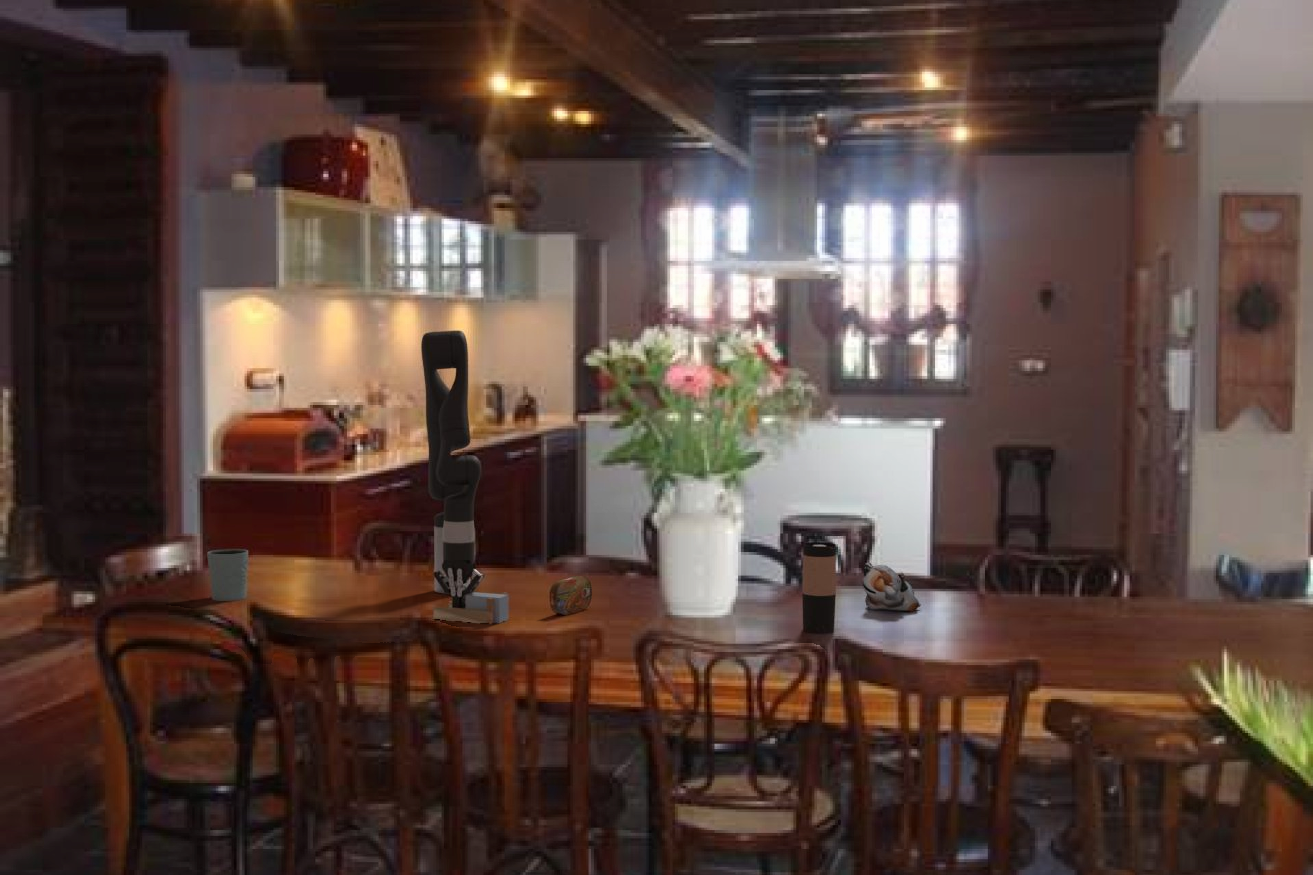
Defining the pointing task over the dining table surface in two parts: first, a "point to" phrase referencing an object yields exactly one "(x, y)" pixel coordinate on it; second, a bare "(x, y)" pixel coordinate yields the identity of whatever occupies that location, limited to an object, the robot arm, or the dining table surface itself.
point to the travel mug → (819, 587)
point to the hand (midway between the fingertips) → (458, 611)
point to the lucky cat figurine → (887, 589)
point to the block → (480, 603)
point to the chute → (466, 613)
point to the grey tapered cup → (228, 574)
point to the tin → (570, 595)
